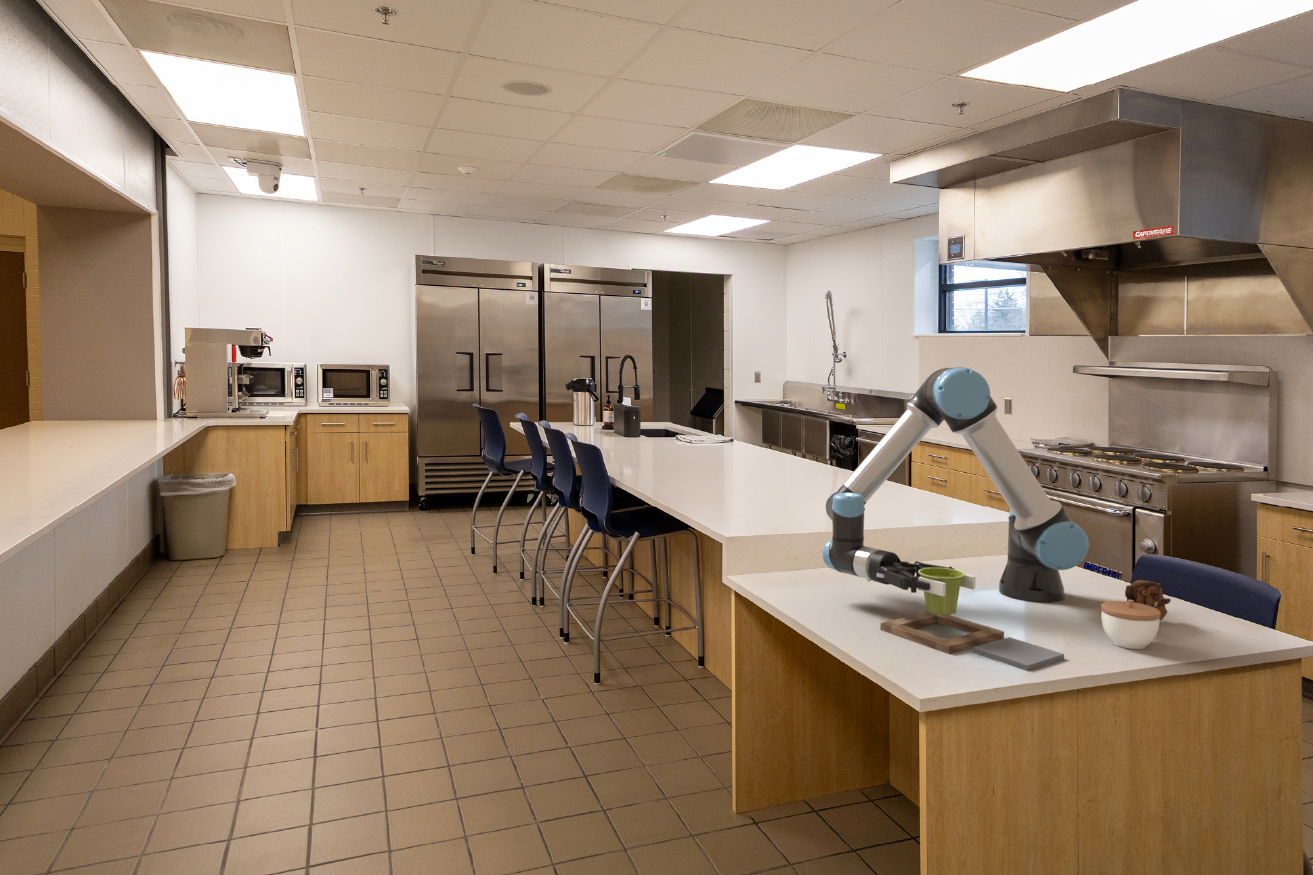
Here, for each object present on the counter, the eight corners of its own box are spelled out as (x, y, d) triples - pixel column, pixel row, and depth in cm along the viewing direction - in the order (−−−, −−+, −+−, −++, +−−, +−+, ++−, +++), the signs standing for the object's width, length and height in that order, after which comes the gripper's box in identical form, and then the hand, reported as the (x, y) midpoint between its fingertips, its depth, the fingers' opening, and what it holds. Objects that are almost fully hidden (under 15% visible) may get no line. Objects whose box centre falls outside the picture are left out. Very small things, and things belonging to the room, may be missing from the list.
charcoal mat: (1009, 641, 171) (1009, 637, 171) (1063, 658, 161) (1064, 653, 161) (972, 652, 165) (973, 647, 165) (1027, 670, 155) (1027, 665, 154)
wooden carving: (1135, 634, 176) (1137, 589, 175) (1114, 628, 180) (1116, 584, 179) (1174, 622, 185) (1176, 579, 184) (1152, 617, 189) (1155, 574, 188)
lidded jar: (1170, 653, 164) (1172, 607, 164) (1117, 652, 165) (1119, 607, 164) (1139, 636, 175) (1141, 593, 174) (1089, 635, 175) (1091, 593, 174)
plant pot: (911, 606, 180) (911, 567, 179) (952, 604, 181) (953, 566, 180) (928, 618, 171) (928, 578, 170) (971, 617, 171) (972, 576, 171)
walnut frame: (934, 616, 188) (934, 610, 188) (1004, 638, 173) (1004, 631, 173) (880, 629, 179) (880, 622, 179) (948, 653, 164) (948, 646, 164)
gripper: (909, 574, 196) (991, 595, 177) (844, 588, 185) (924, 612, 166) (909, 544, 196) (992, 562, 177) (844, 555, 184) (925, 576, 165)
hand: (959, 586), depth 171 cm, fingers closed on plant pot, 9 cm apart
